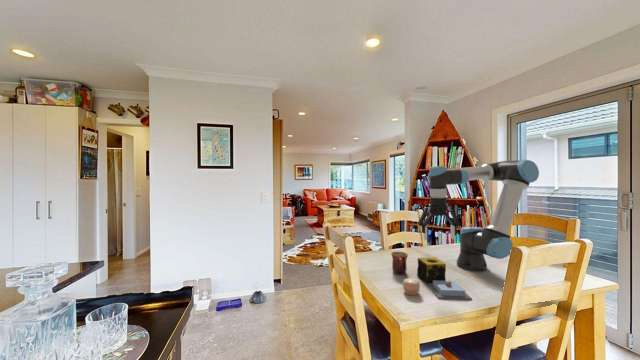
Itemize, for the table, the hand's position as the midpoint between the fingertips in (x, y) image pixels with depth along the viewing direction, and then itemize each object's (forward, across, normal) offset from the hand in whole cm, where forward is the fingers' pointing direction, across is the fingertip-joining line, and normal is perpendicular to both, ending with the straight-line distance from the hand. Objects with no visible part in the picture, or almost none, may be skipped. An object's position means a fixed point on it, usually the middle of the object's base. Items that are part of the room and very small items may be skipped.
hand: (439, 239), depth 126 cm
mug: (+21, +18, -9) cm, 29 cm away
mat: (+21, +2, +12) cm, 24 cm away
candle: (+22, +4, -2) cm, 22 cm away
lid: (+21, +2, +12) cm, 24 cm away
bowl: (+21, +19, +13) cm, 31 cm away
